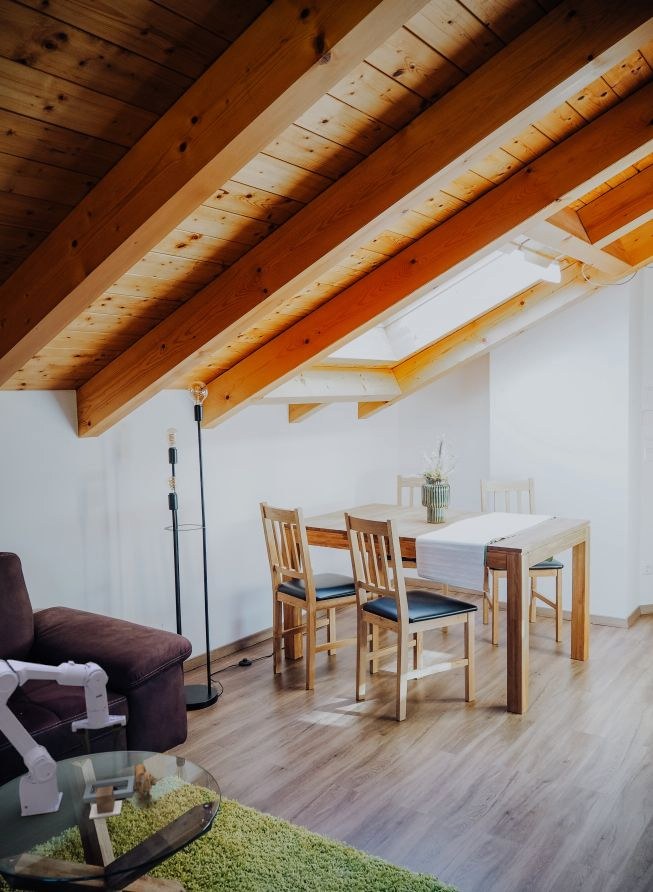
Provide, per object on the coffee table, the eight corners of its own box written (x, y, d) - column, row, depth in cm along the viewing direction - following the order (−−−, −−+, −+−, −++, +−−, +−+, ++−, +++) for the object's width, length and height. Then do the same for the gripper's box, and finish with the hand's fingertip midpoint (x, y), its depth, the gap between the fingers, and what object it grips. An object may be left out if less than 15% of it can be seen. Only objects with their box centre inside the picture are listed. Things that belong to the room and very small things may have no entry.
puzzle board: (83, 803, 209) (83, 798, 209) (87, 786, 216) (87, 781, 216) (132, 796, 211) (132, 791, 211) (135, 780, 218) (134, 775, 218)
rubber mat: (89, 819, 202) (89, 817, 202) (92, 806, 208) (92, 804, 208) (120, 814, 203) (120, 813, 203) (122, 801, 209) (122, 800, 209)
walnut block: (97, 813, 204) (95, 797, 203) (99, 804, 207) (97, 787, 207) (112, 811, 204) (111, 794, 203) (114, 802, 208) (112, 785, 207)
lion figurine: (161, 803, 208) (158, 773, 206) (142, 810, 205) (138, 780, 203) (144, 776, 220) (141, 747, 218) (126, 782, 217) (123, 754, 216)
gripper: (124, 696, 220) (129, 739, 222) (73, 702, 218) (78, 745, 220) (122, 708, 213) (127, 752, 216) (68, 715, 211) (74, 759, 213)
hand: (102, 750), depth 218 cm, fingers open, 7 cm apart
